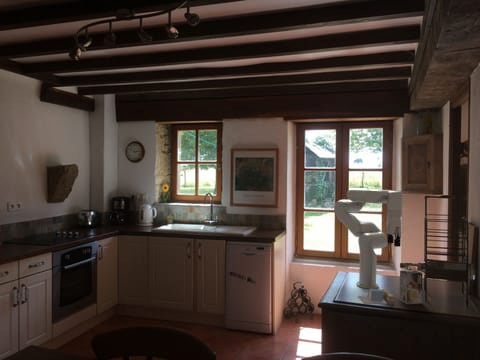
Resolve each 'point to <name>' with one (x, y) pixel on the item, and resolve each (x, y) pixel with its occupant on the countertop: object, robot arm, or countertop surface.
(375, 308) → the countertop surface
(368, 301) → the mat
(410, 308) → the countertop surface
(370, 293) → the block
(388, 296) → the rail
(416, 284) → the coffee box
